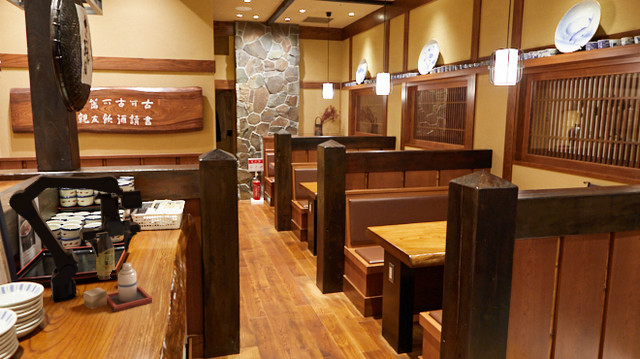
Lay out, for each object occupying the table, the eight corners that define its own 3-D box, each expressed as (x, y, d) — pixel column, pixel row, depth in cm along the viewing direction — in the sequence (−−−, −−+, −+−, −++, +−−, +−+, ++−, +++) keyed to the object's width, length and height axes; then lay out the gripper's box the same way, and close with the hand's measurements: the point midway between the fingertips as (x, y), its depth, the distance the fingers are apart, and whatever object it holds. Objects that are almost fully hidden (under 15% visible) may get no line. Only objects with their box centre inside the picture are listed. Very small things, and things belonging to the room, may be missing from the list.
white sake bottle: (126, 303, 139) (126, 268, 137) (114, 299, 142) (113, 265, 140) (140, 297, 144) (140, 263, 143) (128, 293, 147) (127, 259, 145)
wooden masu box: (92, 309, 137) (91, 296, 136) (84, 305, 140) (83, 292, 139) (107, 304, 141) (106, 291, 140) (99, 300, 144) (98, 287, 143)
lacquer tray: (114, 312, 135) (114, 307, 135) (104, 299, 144) (104, 294, 143) (151, 302, 143) (151, 297, 142) (140, 291, 151) (139, 286, 151)
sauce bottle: (107, 281, 159) (105, 229, 156) (92, 279, 160) (90, 228, 157) (119, 275, 165) (116, 225, 162) (104, 273, 166) (102, 224, 163)
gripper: (85, 219, 136) (88, 266, 138) (145, 211, 148) (147, 255, 150) (77, 212, 144) (80, 257, 146) (134, 206, 156) (136, 247, 159)
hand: (111, 254), depth 150 cm, fingers open, 9 cm apart
